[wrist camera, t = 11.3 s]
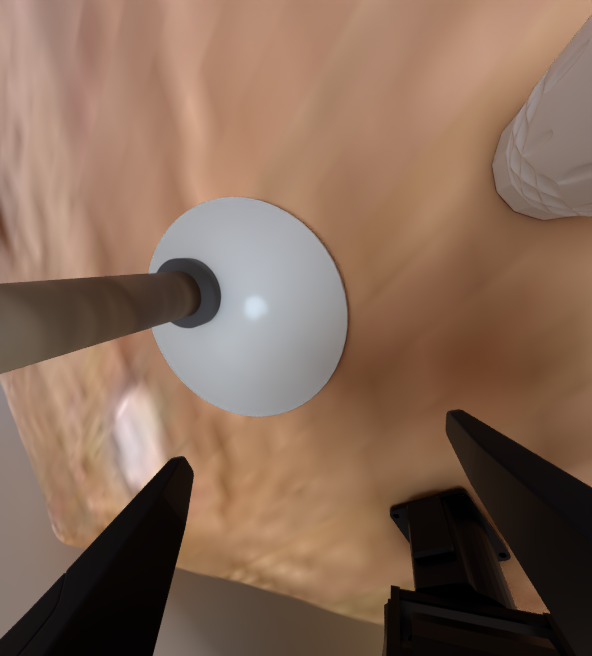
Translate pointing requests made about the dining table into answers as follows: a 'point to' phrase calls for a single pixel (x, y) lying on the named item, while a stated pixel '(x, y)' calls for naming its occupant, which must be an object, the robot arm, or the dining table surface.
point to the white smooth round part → (256, 308)
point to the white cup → (552, 140)
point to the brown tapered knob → (100, 309)
